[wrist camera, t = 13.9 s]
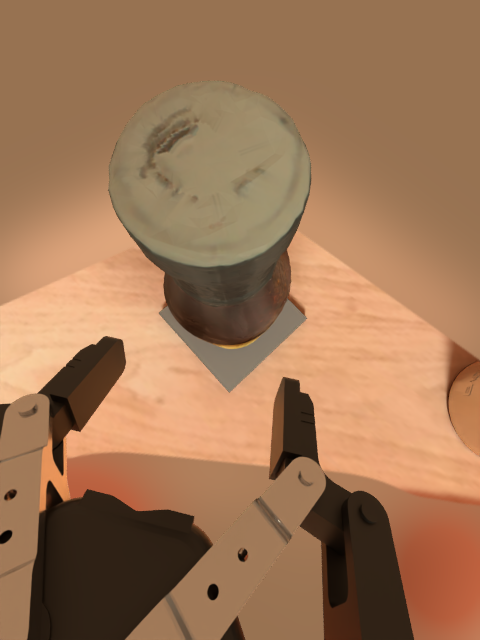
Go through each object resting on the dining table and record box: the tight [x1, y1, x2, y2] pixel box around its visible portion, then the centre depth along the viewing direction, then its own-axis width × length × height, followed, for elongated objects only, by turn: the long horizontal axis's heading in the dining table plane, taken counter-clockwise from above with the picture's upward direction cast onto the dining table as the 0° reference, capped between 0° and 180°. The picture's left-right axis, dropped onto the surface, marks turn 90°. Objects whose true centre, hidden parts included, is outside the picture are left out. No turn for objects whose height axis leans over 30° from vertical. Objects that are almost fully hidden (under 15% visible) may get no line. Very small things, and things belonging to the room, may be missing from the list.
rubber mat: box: [159, 298, 307, 392], centre depth 25 cm, size 10×10×1 cm
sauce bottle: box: [108, 81, 311, 349], centre depth 15 cm, size 6×6×20 cm
